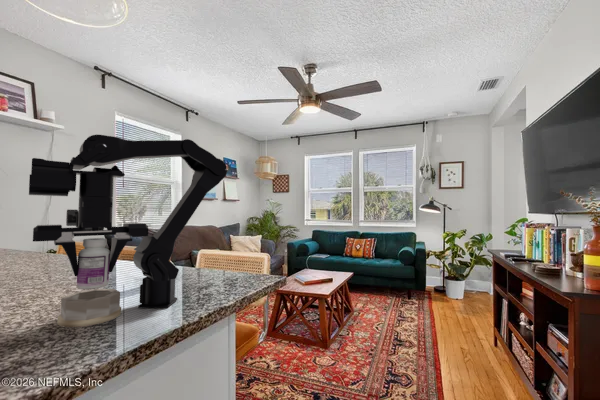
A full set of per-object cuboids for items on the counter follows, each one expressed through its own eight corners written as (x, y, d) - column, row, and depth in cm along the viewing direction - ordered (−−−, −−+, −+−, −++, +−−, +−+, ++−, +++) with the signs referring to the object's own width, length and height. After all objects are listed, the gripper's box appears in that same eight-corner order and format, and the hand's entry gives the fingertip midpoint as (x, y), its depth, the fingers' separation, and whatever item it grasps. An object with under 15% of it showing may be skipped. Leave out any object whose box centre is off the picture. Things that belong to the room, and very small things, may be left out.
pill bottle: (87, 283, 61) (90, 237, 62) (113, 283, 61) (116, 238, 62) (69, 290, 56) (72, 239, 56) (98, 290, 56) (101, 240, 57)
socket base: (130, 308, 64) (131, 287, 64) (102, 326, 53) (103, 302, 54) (81, 309, 63) (82, 288, 63) (42, 327, 53) (43, 302, 53)
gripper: (137, 200, 72) (135, 263, 71) (35, 197, 59) (31, 274, 58) (149, 198, 63) (148, 270, 63) (34, 194, 51) (30, 284, 50)
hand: (93, 273), depth 59 cm, fingers closed on pill bottle, 5 cm apart
